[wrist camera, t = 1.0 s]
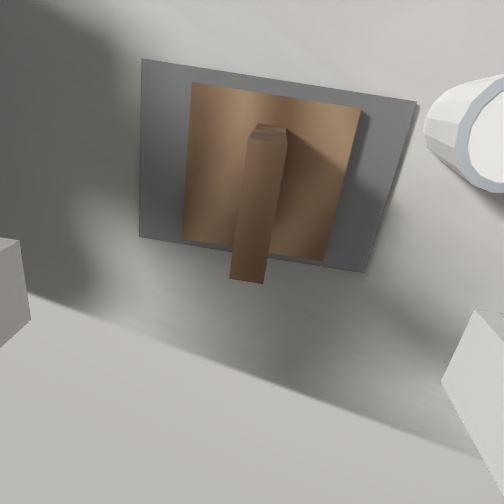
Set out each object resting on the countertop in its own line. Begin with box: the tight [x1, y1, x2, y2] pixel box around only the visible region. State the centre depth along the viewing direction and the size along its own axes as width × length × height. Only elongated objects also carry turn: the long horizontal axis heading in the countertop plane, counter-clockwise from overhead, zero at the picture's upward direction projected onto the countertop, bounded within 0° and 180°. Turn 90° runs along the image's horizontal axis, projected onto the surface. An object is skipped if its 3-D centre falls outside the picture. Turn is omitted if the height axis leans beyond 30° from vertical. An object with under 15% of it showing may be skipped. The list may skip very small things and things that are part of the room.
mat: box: [139, 59, 417, 273], centre depth 29 cm, size 20×14×1 cm
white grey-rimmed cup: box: [423, 74, 504, 193], centre depth 24 cm, size 7×7×7 cm
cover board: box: [181, 82, 361, 284], centre depth 24 cm, size 12×12×10 cm
